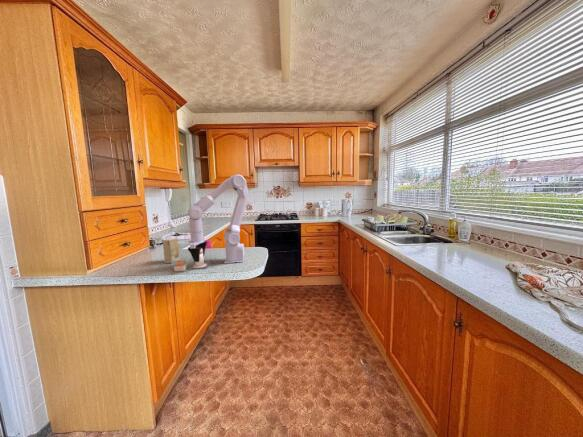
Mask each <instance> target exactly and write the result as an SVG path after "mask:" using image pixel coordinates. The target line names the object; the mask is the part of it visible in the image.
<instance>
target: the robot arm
mask: <svg viewBox="0 0 583 437" xmlns="http://www.w3.org/2000/svg"><path fill="white" fill-rule="evenodd" d="M247 183H248V182H247V180H246V178H244V176H243V175H241V174H235V175H231V176H230V177H228V178H226V179H225V180H224V181H223V182H221V183H220V184H219V185H218V186H217V187H216V188H215V189H214V190H213V191H212V192H211V193H210V194H205V195H201V197H200V199H199V200H198V201H197V202H196V203H195V202H194V203H193V205H192V206H190V207H189V209H188V210H187V215H188V220H189V221H188V222H189V223H188V224H189V234H190V240H189V241H188V244H189V247H187V250H188V253H189V254H190V255H191V257H192V260H193V262H199V258H200V250H201V248H202V249H203V257H205V251H206V247H207V245H208V241H205V237H204V229H203V220H202V216H203V213H205V212H207V211H208V209H210V208H211V207H213V205H215V200H216V199H217V198H218V197H220V195H221V194H223V193H224V192H225V191H226V190H230V189H233V190H234V191H235V192H236V194H237V197H236V202H235V205H234V209H233V212H232V216H231V220H230V223H229V225H228V226H227V229H226V231H224V234H223V239H224V240H225V243H224V248H225V260H224V262H223V263H224V264H232V263H233V264H235V262H237V263H243V262H245V259H244V258H246V255H245V253H246V252H245V244H244V243H240V241H241V237H240V233H241V224H242V220H243V217H244V214H245V208H246V205H247V202H248V198H249V195H250V194H249V189H248V184H247Z"/></svg>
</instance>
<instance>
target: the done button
mask: <svg viewBox="0 0 583 437" xmlns="http://www.w3.org/2000/svg"><path fill="white" fill-rule="evenodd" d="M185 263H186V262H185V260H178V261H176V262H175V266H184V265H185Z"/></svg>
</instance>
